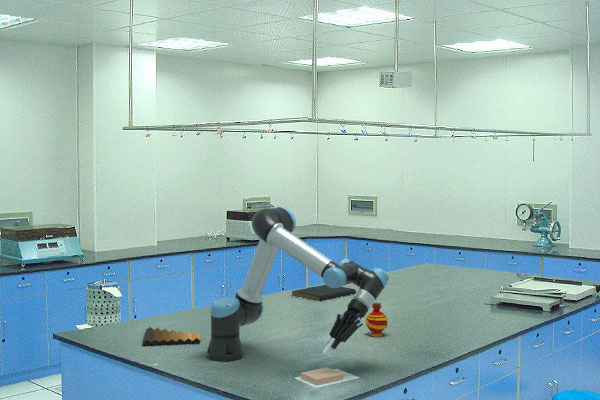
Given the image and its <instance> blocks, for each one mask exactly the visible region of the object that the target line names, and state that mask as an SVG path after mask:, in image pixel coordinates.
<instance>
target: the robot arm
mask: <svg viewBox="0 0 600 400" xmlns="http://www.w3.org/2000/svg"><path fill="white" fill-rule="evenodd" d="M296 226H297V222H296V217H295V215H294V213H293V212H292V211H291V210H290V209H289V208H286V207H282V206H278V207H272V208H271V207H270V208H269V207H268V208H262V209H259V210H258V211H257V212H256V213H254V215H253V217H252V219H251V227H252V228H251V229H252V230H253V233H254V234H255V235H256V236H257V237H258V238H259V242H258V244H257V246H256V249H255V251H254V255H253V256H252V257H253V258H252V260H251V263H250V266H249V269H248V271H247V274H246V277H245V278H244V282H243V284H242V287H241V288H239V289H237V290H236V293H235V296H234V297H233V296H231V297H230V296H229V297H227V296H226V297H222V298H218V299H215V300H214V301H213V302H212V303H211V306H210V332H211V333H210V336H211V337H210V341H209V344H208V346H207V347H208V348H207V351H206V357H207V359H209V360H212V361H217V362H218V361H219V362H229V361H237V360H240V359H242V358H244V357H245V353H244V352H245V350H244V348H243V347H244V346H243V344H242V341H241V337H240V328H241V327H243V326H244V327H245V326H247V325H250V324H253V323H255V322H256V321H258V320H259V319H260V318H261V317H262V316H263V315H262V314H263V312H264V305H263V301H264V300H263V297H262V294H263V290H264V288H265V285H266V283H267V279H268V277H269V275H270V272H271V269H272V266H273V263H274V262H275V259H276V256H277V253H278V251H279V250H281V251H283V252H284V253H285V254H287V255H288V256H290V257H291V258H293V259H294V260H296V261H297V262H298V263H300V264H302V266H304V267H306V268H307V269H308V270H310V271H311V272H313V273H314V274H316V275H317V276H319V277H320V278H322V280H323V283H324V285H326V286H328V287H330V288H339V287H344V286H346V285H349V284H353V285H355V286H356V287H358V290H356V294H353V298H351V300H350V302H348V304H347V306H346V307H347V309H346V310H345V311H344V312H343V314H340V313H338V314H337V315H336V319H335V321H334V323H333V326H332V328H331V330H330V332H329V333H328V334H329V336H330V340H329V341H328V342H327V344H326V346H325V348H324V349H323V351H322V353H323V355H325V356H326V357H327V358H330V357H331V355H332V353H334V350H336V349H337V347H338V346H339V345H340V344H341V343H342V342H343V343H346V342H347V341H348V340H349V339H350V338H351V336H352V335H353V334H354V333H355V332H356V331H357V330H358V329H359V328H361V327H362V326H363V324H364V323H363V322H362V321H361V320H362V318H365V317H366V316H367V314H368V312H369V309H371V308H372V306H373V303H375V301H376V300H377V299H378V297H379V295H381V293H382V292H383V290H384V289H386V288H385V287H386V285H387V283H389V279H390V277H389V274H388V273H387V272H386V271H384V270H383V269H382V268H380V267H373V269H371V270H370V269H368V268H365V267H364V266H361V265H360V264H359V263H356V262H355V261H354V260H351V259H349V258H343V259H341V260H340V261H339V263H336V262H335V261H333V260H332V259H330V258H329V257H327V256H326V255H324V254H323V253H321V252H320V251H318V250H317V249H315V248H314V247H313V246H311V245H310V244H308V243H307V242H305V241H304V240H302V239H301V238H300V237H298V236H296V235H295V234H294V233H293V232H294V230H295V229H296Z"/></svg>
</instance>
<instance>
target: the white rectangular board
mask: <svg viewBox="0 0 600 400" xmlns="http://www.w3.org/2000/svg"><path fill="white" fill-rule="evenodd" d="M332 370H335V371H337V372H340V373H343V374H344V379H342V380H338V381H333V382H329V383H325V384H320V385H315V384H313V383H311V382H309V381H306V380H304V379H302V378H301V375H300V376H297V377H294V379H295V380H297V381H300V382H302V383H303V384H304V383H305V384H306V385H309V386H311V387H313V388H316V389H318V388H322V387H323V388H324V387H327V386H331V385H335V384H339V383H345V382H349V381H353V380H356V379H357V380H358V379H361V377H359V376H356V375H355V374H351V373H349V372H346V371H343V370H342V369H339V368H334V369H332Z"/></svg>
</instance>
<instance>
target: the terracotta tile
mask: <svg viewBox="0 0 600 400" xmlns="http://www.w3.org/2000/svg"><path fill="white" fill-rule="evenodd" d="M300 376H301V378H302V379H304V380H306V381H309V382H311V383H313V384H315V385H320V384H325V383H329V382H333V381H338V380H342V379H344V374H343V373H340V372H337V371H335V370H333V369H332V368H330V367H328V366H326V367H322V368H316V369H313V370H312V369H311V370H308V371H304V372H303V371H302V372H300Z"/></svg>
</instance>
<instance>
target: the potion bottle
mask: <svg viewBox="0 0 600 400" xmlns="http://www.w3.org/2000/svg"><path fill="white" fill-rule="evenodd" d="M371 308H372V311H371V312H369V313H367V314H366V315H365V321H364V322H365V325H366V327H367V329H368V330H369V331H370V332H371V334H370V336H371V337H375V338H376V337H377V338H378V337H379V338H380V337H382V336H383V335H382V332H383V331H385V329H387V328H388V326H389V324H388V322H389V321H388V316H386V314H385V313H384V312H383V311H381V310H380V309H381V308H382V303H381V302H374V303H373V304H372V306H371Z"/></svg>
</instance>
